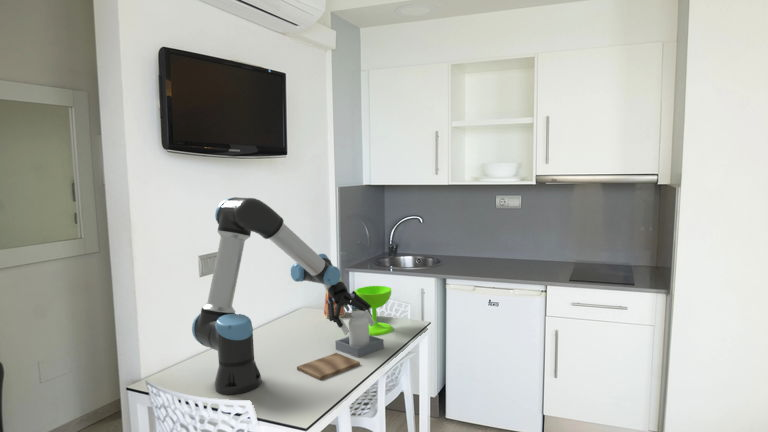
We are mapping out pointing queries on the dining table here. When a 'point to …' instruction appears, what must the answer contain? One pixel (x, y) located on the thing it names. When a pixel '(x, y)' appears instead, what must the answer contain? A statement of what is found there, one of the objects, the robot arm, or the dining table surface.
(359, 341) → the pill bottle
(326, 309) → the milk carton
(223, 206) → the robot arm
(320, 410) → the dining table surface
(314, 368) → the board
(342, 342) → the bin
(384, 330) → the wineglass
